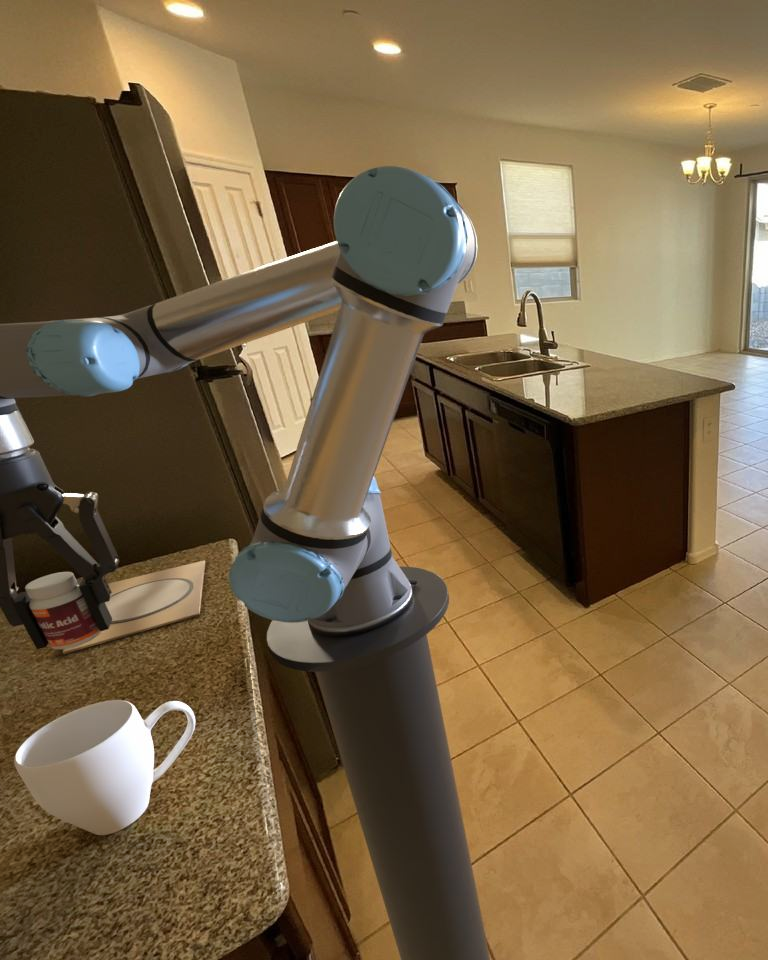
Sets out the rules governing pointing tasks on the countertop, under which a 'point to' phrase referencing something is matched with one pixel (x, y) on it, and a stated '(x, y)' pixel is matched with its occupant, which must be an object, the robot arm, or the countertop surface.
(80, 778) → the mug
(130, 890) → the countertop surface
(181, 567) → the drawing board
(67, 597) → the pill bottle
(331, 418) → the robot arm
